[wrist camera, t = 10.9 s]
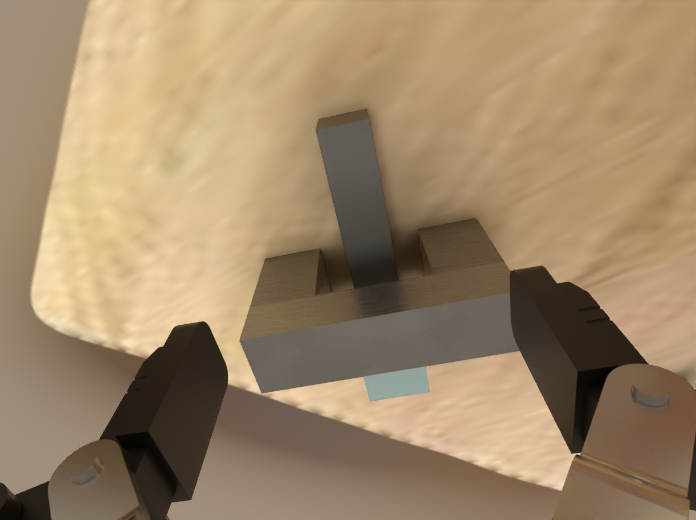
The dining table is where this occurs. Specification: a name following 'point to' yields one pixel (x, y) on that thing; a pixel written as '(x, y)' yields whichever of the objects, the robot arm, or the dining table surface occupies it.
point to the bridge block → (379, 314)
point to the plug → (364, 225)
